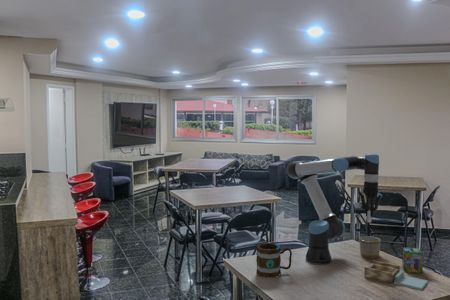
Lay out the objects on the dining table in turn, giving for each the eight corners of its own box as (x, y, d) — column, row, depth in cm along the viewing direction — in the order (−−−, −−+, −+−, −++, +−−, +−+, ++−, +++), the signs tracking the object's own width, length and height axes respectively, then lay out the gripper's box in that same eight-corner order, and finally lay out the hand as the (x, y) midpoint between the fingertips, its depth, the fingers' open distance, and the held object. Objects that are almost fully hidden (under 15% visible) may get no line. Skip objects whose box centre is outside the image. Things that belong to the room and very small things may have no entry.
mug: (257, 277, 207) (256, 250, 206) (255, 268, 221) (255, 242, 220) (293, 277, 207) (293, 250, 206) (290, 268, 220) (290, 242, 219)
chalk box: (422, 273, 211) (423, 247, 210) (404, 272, 214) (404, 245, 213) (419, 267, 220) (419, 242, 219) (401, 266, 223) (402, 241, 222)
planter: (357, 251, 249) (357, 235, 248) (377, 252, 247) (377, 236, 246) (361, 258, 236) (361, 241, 236) (382, 259, 235) (383, 242, 234)
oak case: (364, 277, 207) (364, 267, 207) (373, 269, 218) (373, 260, 217) (391, 283, 198) (391, 273, 198) (399, 275, 209) (399, 265, 208)
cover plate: (394, 284, 198) (394, 276, 198) (400, 277, 207) (401, 269, 207) (421, 291, 190) (421, 282, 190) (427, 283, 199) (427, 275, 199)
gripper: (357, 180, 220) (355, 221, 222) (380, 183, 212) (378, 225, 214) (362, 179, 226) (360, 218, 228) (385, 181, 217) (383, 222, 219)
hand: (369, 222), depth 221 cm, fingers closed
